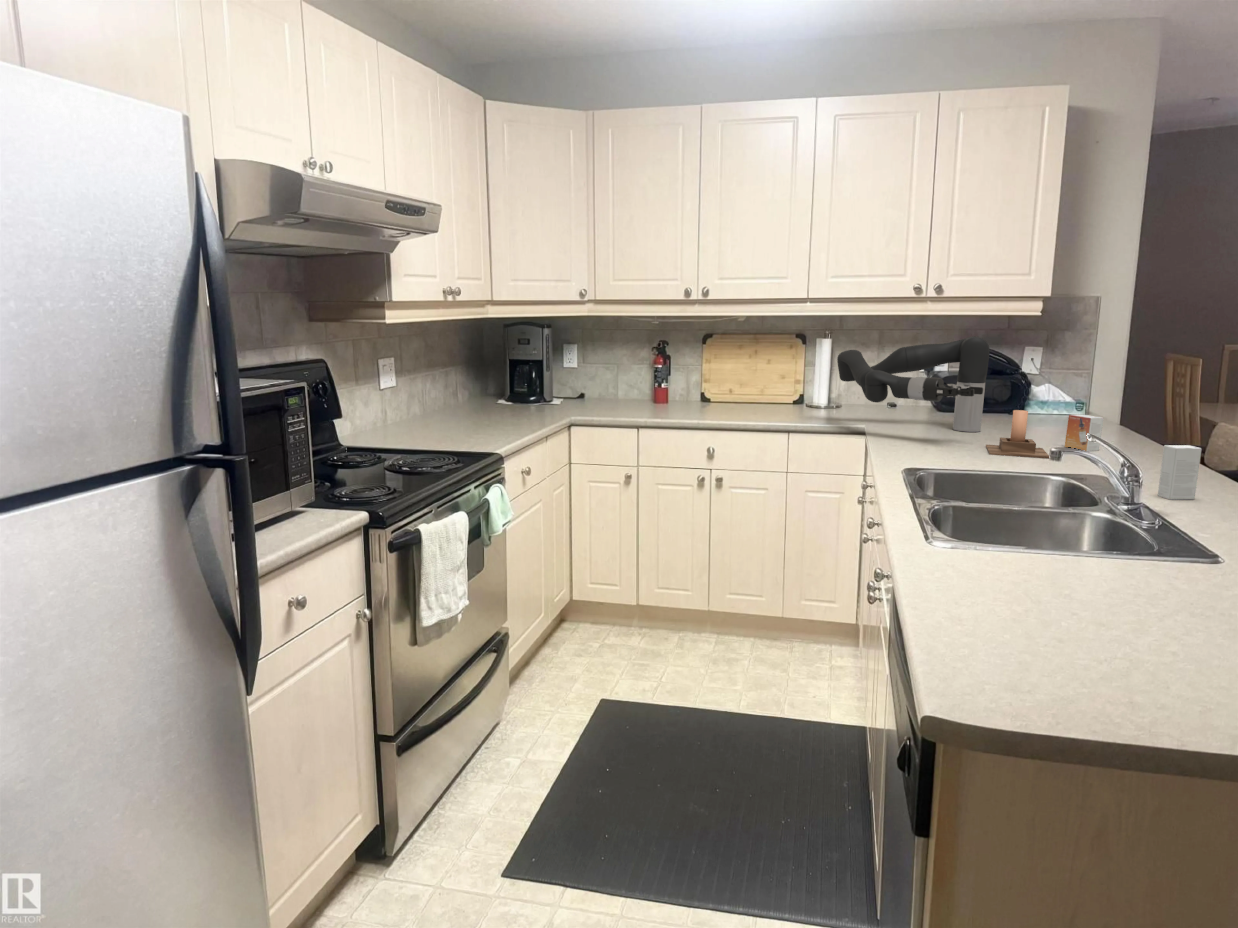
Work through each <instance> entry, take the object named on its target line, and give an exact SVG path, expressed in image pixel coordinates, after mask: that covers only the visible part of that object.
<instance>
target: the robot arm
mask: <svg viewBox="0 0 1238 928" xmlns="http://www.w3.org/2000/svg"><path fill="white" fill-rule="evenodd" d="M989 358H990V344H989V343H988V342H987V340H985V338H983V337H980V336H969V337H966V338H963V339H959V340H956V341H951V342H945V343H930V344H929V343H927V344H916V345H909V346H902V347H899V348H897V349H895V351H892V353H890V354H889V355H888V356H887V357H885V358H884V359H883V360H882V361H880V362H878V363H877V364H875V365H872V366H870V365H869V364H868V363H867V361H866V359H865V358H864V356H863V354H862V352H861V351H859V350H857V349H848V350H844V351H842V352H840V353H838V355H837V358H836V359H837V360H836V361H837V363H836V364H837V369H838V375H839V380H840V381H842V382H845V383H846V382H856V383H857V385H858V386H859V387H860V388H861V390H862V392H863V395H864V397H865V398H866V400H868V401H869V402H872V403H881V402H883V401H885V400H886V399H887V398H888V393H889V390H888V389H889V388H890V391H891V394H892V396H893V397H894V398H896V399H904V400H905V399H907V400H913V401H924V402H926V401H927V402H937V403H938V402H940V401H941V400H942V399H943V397H945V398H955V401H954V413H953V420H952V422H953V423H952V430H953V431H957V432H958V431H959V432H968V433H978V432H981V430H982V420H983V410H984V403H985V402H984V399H985V389H986V380H987V376H988V369H989V361H990V360H989ZM954 363H955V364H956V363H959V366H958V373H957V379H956V381H957V382H956V383H955V384H954V383H946V384H945V382H944V379H943V378H941V377H932V376H931V377H930V376H929V377H928V376H916V377H915V376H914V377H913V376H912V377H911V376H900V375H896V374H901V373H902V374H903V373H913V372H918V371H922V370H923V371H924V370H927V369H928V370H929V369H932V368H935V367H938V366H942V365H944V364H945V365H946V364H954ZM888 386H889V388H888Z"/></svg>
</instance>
